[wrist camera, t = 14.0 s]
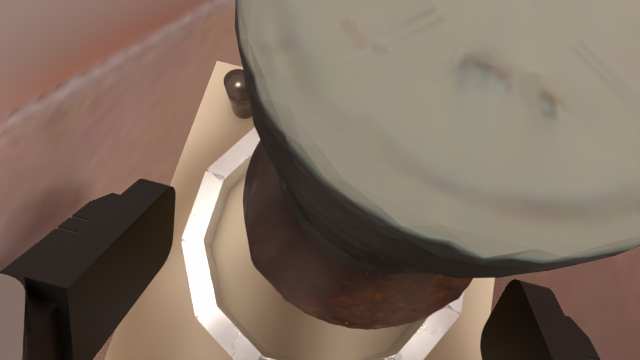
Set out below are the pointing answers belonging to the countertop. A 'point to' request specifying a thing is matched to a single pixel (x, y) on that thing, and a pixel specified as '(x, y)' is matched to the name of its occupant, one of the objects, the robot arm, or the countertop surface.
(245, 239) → the maple board
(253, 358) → the white segmented ring
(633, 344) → the countertop surface
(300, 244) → the sauce bottle
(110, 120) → the countertop surface
